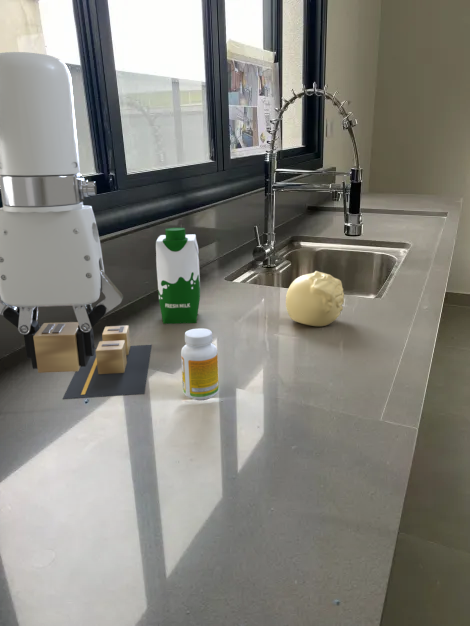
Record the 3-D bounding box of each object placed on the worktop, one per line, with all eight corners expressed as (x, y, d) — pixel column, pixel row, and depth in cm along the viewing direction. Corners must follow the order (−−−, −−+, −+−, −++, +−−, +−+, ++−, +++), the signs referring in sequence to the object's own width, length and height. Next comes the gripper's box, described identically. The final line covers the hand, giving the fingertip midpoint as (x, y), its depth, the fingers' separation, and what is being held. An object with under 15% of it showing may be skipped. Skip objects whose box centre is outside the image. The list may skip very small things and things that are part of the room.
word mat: (62, 401, 73) (62, 398, 73) (86, 350, 92) (86, 347, 92) (144, 396, 74) (144, 393, 74) (151, 346, 93) (151, 344, 93)
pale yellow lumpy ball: (337, 334, 98) (339, 281, 94) (278, 327, 102) (279, 276, 99) (347, 316, 108) (349, 268, 104) (293, 311, 112) (294, 264, 109)
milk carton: (158, 327, 104) (151, 231, 97) (163, 313, 112) (157, 224, 106) (200, 325, 104) (196, 230, 98) (202, 312, 112) (198, 223, 106)
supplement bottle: (226, 391, 75) (224, 331, 72) (200, 404, 72) (197, 342, 69) (201, 381, 79) (199, 323, 76) (175, 393, 75) (172, 333, 72)
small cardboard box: (104, 356, 88) (101, 333, 87) (107, 347, 92) (105, 325, 91) (128, 355, 89) (126, 332, 87) (130, 346, 93) (128, 324, 91)
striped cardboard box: (38, 373, 53) (32, 335, 51) (48, 357, 57) (43, 322, 55) (78, 371, 53) (74, 334, 52) (85, 356, 57) (82, 320, 56)
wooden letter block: (98, 374, 81) (95, 350, 80) (102, 364, 85) (99, 340, 84) (124, 372, 82) (121, 348, 80) (126, 362, 86) (124, 339, 84)
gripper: (132, 190, 54) (142, 347, 59) (-31, 191, 52) (-5, 352, 58) (124, 196, 46) (136, 374, 52) (-65, 198, 45) (-31, 381, 51)
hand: (62, 361), depth 55 cm, fingers closed on striped cardboard box, 4 cm apart
